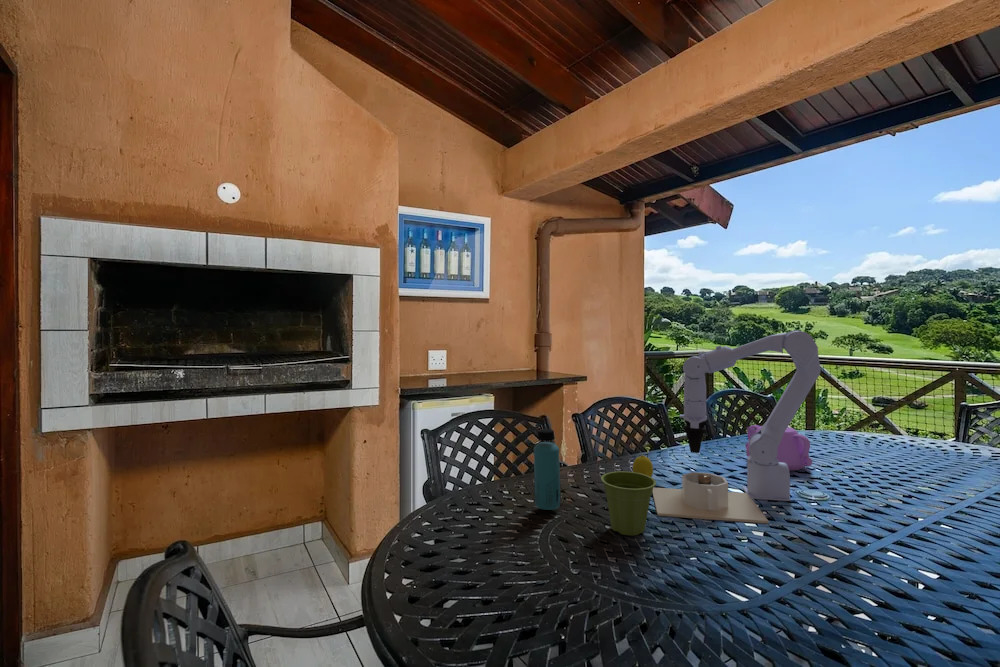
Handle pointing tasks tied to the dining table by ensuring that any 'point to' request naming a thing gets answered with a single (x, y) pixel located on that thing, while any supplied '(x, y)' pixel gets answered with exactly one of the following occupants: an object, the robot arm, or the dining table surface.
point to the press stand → (706, 501)
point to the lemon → (643, 466)
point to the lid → (704, 479)
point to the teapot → (788, 448)
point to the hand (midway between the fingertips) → (695, 448)
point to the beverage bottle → (546, 472)
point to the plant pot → (628, 500)
